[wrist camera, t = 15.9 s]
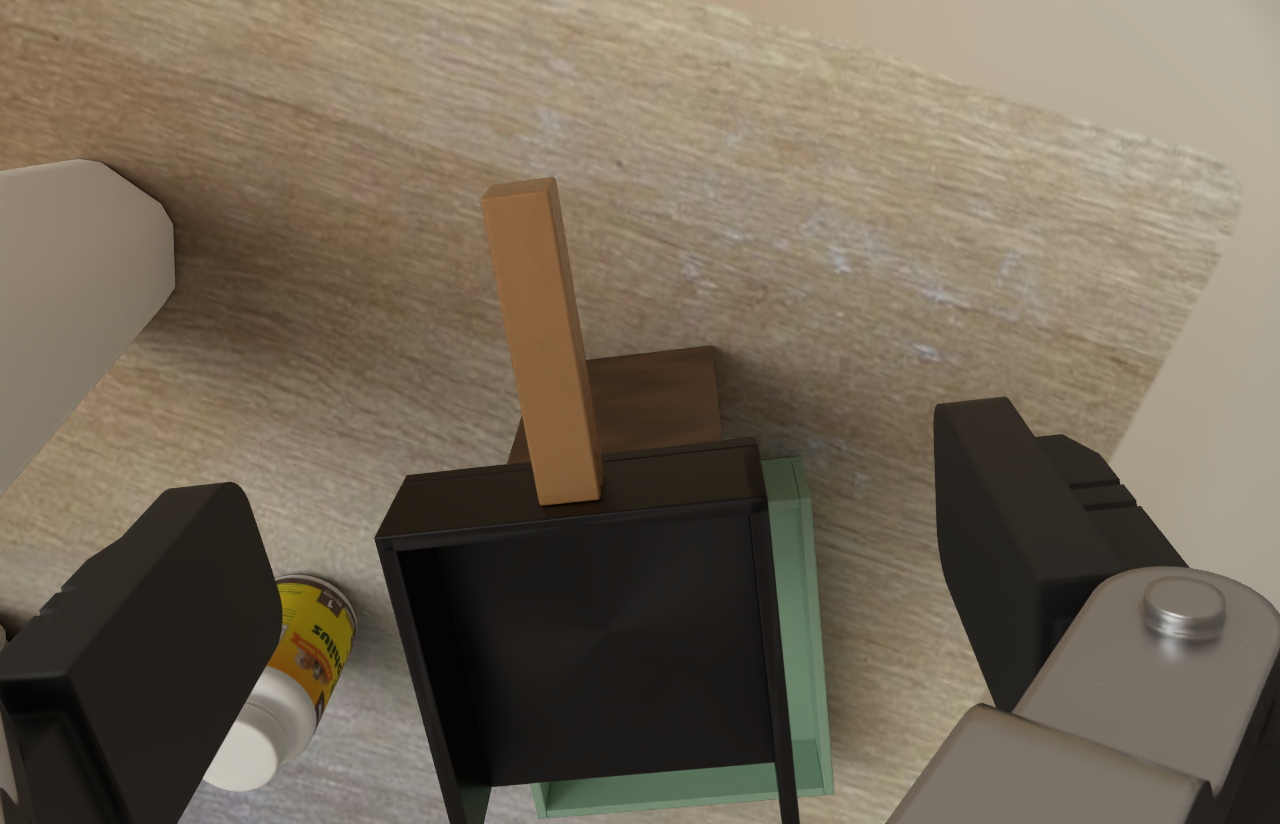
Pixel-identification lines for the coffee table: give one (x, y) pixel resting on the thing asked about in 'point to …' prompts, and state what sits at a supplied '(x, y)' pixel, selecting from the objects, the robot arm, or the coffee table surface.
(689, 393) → the block
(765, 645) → the pan
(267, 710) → the supplement bottle
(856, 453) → the coffee table surface
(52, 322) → the cup
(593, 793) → the tray
